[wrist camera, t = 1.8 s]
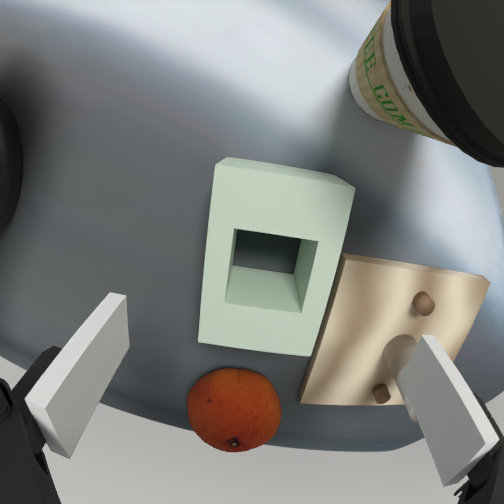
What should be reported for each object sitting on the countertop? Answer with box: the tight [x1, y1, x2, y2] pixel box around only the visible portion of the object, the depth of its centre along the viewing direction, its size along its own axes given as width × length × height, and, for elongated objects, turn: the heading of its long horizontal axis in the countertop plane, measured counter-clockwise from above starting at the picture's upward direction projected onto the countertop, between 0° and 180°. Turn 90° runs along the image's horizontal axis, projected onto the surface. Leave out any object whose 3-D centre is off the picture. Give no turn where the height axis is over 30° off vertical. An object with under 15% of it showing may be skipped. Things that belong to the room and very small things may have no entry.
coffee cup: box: [349, 0, 504, 168], centre depth 13 cm, size 10×10×15 cm
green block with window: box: [198, 157, 355, 356], centre depth 22 cm, size 12×8×6 cm, turn 172°
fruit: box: [187, 368, 282, 452], centre depth 27 cm, size 9×9×8 cm
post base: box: [299, 253, 490, 422], centre depth 24 cm, size 16×16×10 cm
